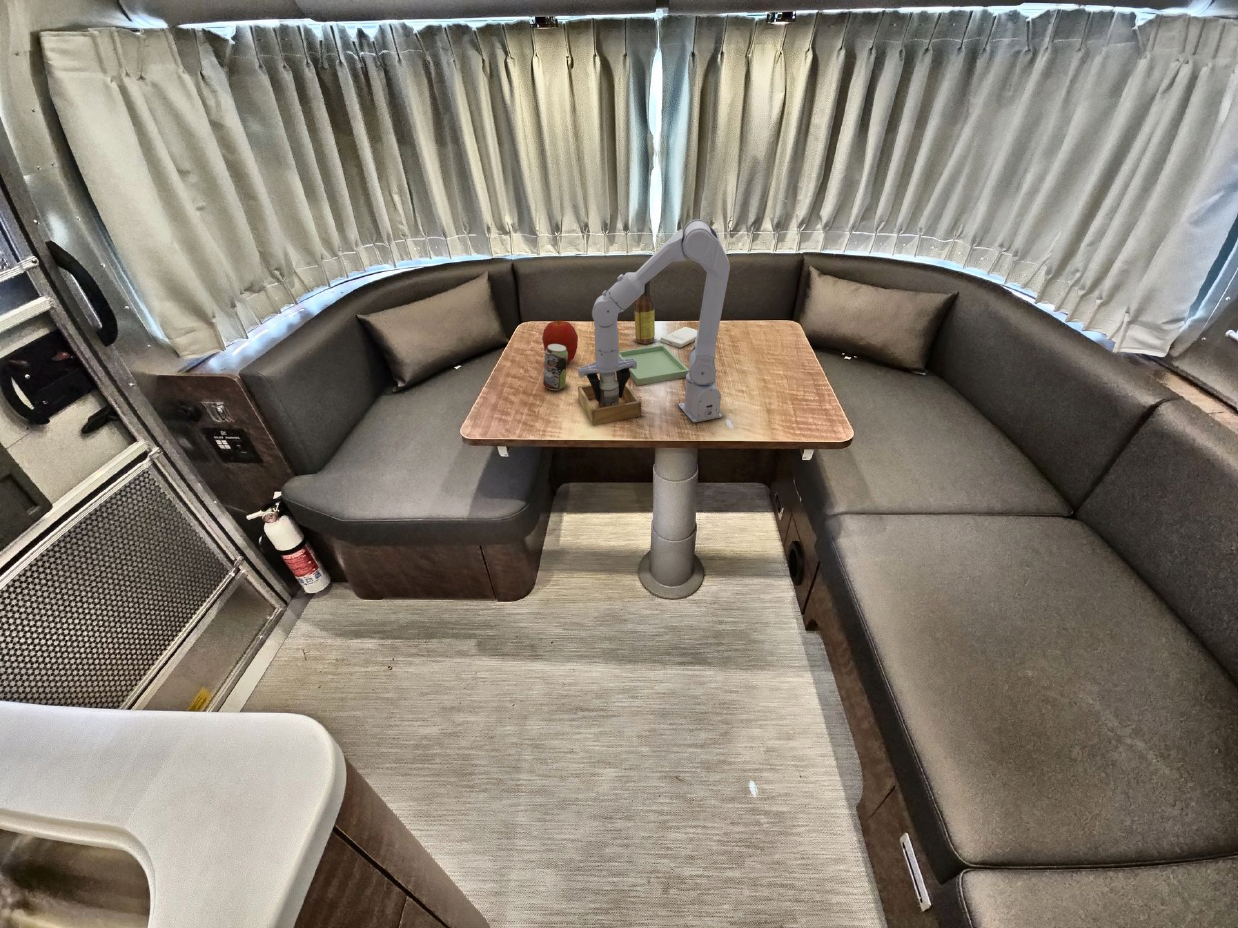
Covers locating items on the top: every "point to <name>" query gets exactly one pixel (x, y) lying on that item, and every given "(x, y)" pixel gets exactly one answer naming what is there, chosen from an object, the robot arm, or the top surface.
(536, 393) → the top surface
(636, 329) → the sauce bottle
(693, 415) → the robot arm
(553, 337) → the apple
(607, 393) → the pill bottle
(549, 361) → the beverage can
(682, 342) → the hard drive
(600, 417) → the open wooden box
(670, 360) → the tray
